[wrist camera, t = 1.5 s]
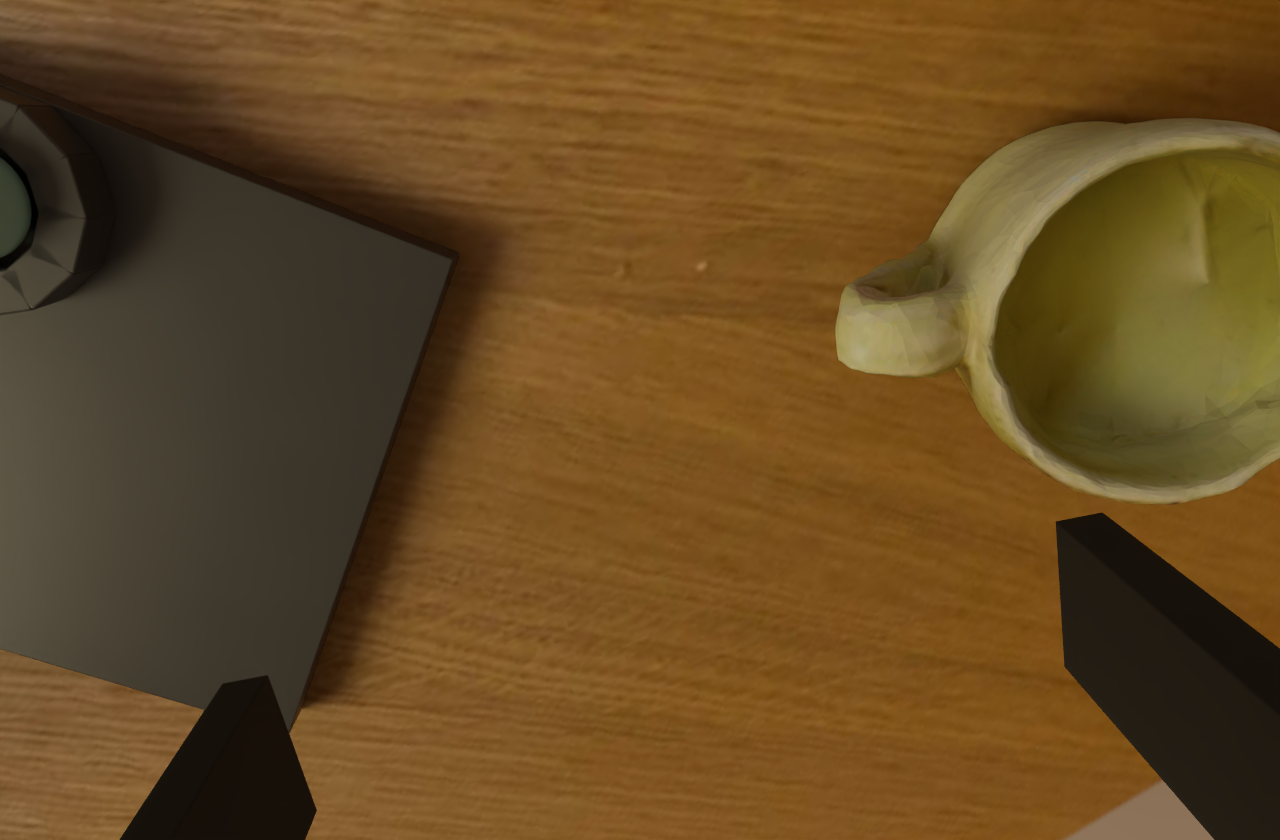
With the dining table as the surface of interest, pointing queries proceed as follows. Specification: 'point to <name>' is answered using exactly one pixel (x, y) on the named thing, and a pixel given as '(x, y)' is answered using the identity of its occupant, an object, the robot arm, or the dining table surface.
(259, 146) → the dining table surface
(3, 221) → the power button
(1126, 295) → the mug
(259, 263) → the scale
